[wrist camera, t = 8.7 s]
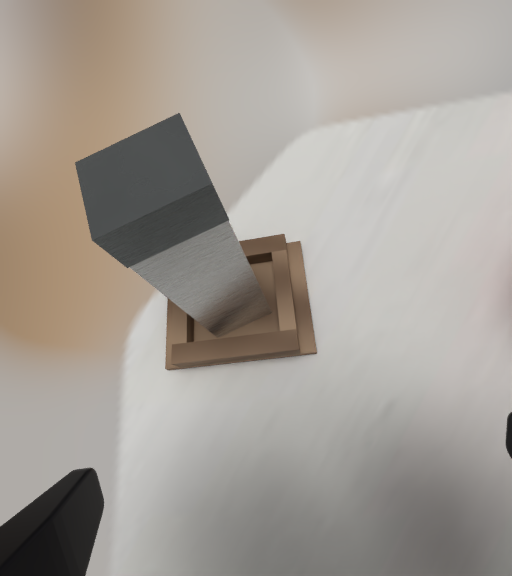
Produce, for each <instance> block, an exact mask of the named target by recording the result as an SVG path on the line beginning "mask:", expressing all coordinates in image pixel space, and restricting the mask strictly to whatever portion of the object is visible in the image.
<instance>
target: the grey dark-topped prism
mask: <svg viewBox="0 0 512 576" xmlns="http://www.w3.org/2000/svg"><path fill="white" fill-rule="evenodd" d="M75 165H76V169H77V174H78V178H79V183H80V187H81V192H82V196H83V201H84V206H85V210H86V215H87V220H88V224H89V229H90V233H91V238H92V241H94V242H95V243H96V244H97V245H99V246H100V247H101V248H103V249H104V250H105V251H107V252H108V253H109V254H110V255H112V256H113V257H114V258H115V259H117V260H118V261H119V262H120V263H122V264H123V265H124V266H126V267H127V268H129V267H130V268H131V269H132V270H134V271H135V272H136V273H137V274H139V275H140V276H141V277H142V278H144V279H145V280H146V281H147V282H149V283H150V284H151V285H152V286H154V287H155V288H156V289H157V290H159V291H160V292H161V293H162V294H164V295H165V296H166V297H167V298H169V299H170V300H171V301H172V302H174V303H175V304H176V305H177V306H179V307H180V308H181V309H182V310H184V311H185V312H186V313H187V314H189V315H190V316H191V317H192V318H194V319H195V320H196V321H197V322H199V323H200V324H201V325H202V326H204V327H205V328H206V329H207V330H209V331H210V332H211V333H212V334H214V335H215V336H216V337H217V338H219V337H221V336H223V335H225V334H228V333H230V332H232V331H234V330H236V329H238V328H240V327H243V326H245V325H247V324H249V323H251V322H253V321H256V320H258V319H260V318H262V317H264V316H266V315H268V314H271V313H272V311H271V309H270V307H269V305H268V303H267V301H266V298H265V296H264V294H263V292H262V290H261V288H260V286H259V283H258V281H257V279H256V277H255V275H254V273H253V270H252V268H251V266H250V264H249V262H248V260H247V258H246V256H245V254H244V251H243V249H242V247H241V245H240V243H239V241H238V239H237V237H236V235H235V232H234V230H233V228H232V226H231V224H230V222H229V218H228V216H227V214H226V212H225V210H224V208H223V205H222V203H221V201H220V199H219V197H218V195H217V192H216V190H215V188H214V186H213V184H212V182H211V179H210V177H209V175H208V173H207V171H206V169H205V167H204V164H203V162H202V160H201V158H200V156H199V154H198V151H197V149H196V147H195V145H194V143H193V141H192V139H191V137H190V135H189V132H188V130H187V128H186V126H185V124H184V122H183V119H182V117H181V115H180V113H178V114H176V115H174V116H172V117H170V118H168V119H166V120H163V121H161V122H159V123H157V124H155V125H153V126H151V127H149V128H147V129H145V130H142V131H140V132H138V133H136V134H134V135H132V136H130V137H128V138H126V139H124V140H122V141H119V142H117V143H115V144H113V145H111V146H109V147H107V148H105V149H103V150H101V151H98V152H97V153H94V154H92V155H90V156H88V157H86V158H84V159H82V160H80V161H78V162H76V164H75Z"/></svg>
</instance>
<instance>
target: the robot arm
mask: <svg viewBox="0 0 512 576" xmlns="http://www.w3.org/2000/svg"><path fill="white" fill-rule="evenodd" d="M506 448H507V451H508V453H509V455H510V457H511V458H512V412H511V413H510V414H509V415H508V418H507V431H506ZM103 508H104V498H103V494H102V491H101V487H100V483H99V480H98V476H97V473H96V471H95V470H94V469H93V468H84V469H77V470H73V471H71V472H70V473H69V474H68V475H66V476H65V477H64V478H62V479H61V480H60V481H58V482H57V483H56V484H55V485H53V486H52V487H51V488H49V489H48V490H47V491H46V492H44V493H43V494H42V495H41V496H39V497H38V498H37V499H35V500H34V501H33V502H32V503H30V504H29V505H28V506H26V507H25V508H24V509H22V510H21V511H20V512H19V513H17V514H16V515H15V516H14V517H12V518H11V519H10V520H8V521H7V522H6V523H4V524H3V525H2V526H1V527H0V576H85V575H86V571H87V567H88V564H89V560H90V557H91V553H92V549H93V546H94V542H95V539H96V535H97V531H98V528H99V524H100V521H101V517H102V513H103Z"/></svg>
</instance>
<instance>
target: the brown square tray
mask: <svg viewBox="0 0 512 576" xmlns="http://www.w3.org/2000/svg"><path fill="white" fill-rule="evenodd" d="M239 243H240V245H241V247H242V249H243V251H244V254H245V256H246V258H247V260H248V262H249V264H250V266H251V268H252V270H253V273H254V275H255V277H256V279H257V281H258V283H259V286H260V288H261V290H262V292H263V294H264V296H265V298H266V301H267V303H268V305H269V307H270V309H271V311H272V313H271V314H268V315H266V316H264V317H262V318H260V319H258V320H256V321H253V322H251V323H249V324H247V325H245V326H243V327H240V328H238V329H236V330H234V331H232V332H230V333H228V334H225V335H223V336H221V337H219V338H217V337H216V336H215V335H214V334H212V333H211V332H210V331H209V330H207V329H206V328H205V327H204V326H202V325H201V324H200V323H199V322H197V321H196V320H195V319H194V318H192V317H191V316H190V315H189V314H187V313H186V312H185V311H184V310H182V309H181V308H180V307H179V306H177V305H176V304H175V303H174V302H172V301H171V300H170V299H169V298H168V307H167V336H166V365H165V369H167V370H174V369H183V368H192V367H201V366H210V365H219V364H227V363H236V362H245V361H254V360H263V359H272V358H281V357H290V356H298V355H307V354H316V353H317V351H316V344H315V337H314V331H313V324H312V317H311V310H310V304H309V297H308V290H307V283H306V277H305V270H304V263H303V256H302V250H301V243H300V241H297V242H291V243H286V239H285V235H284V234H280V235H274V236H268V237H262V238H256V239H251V240H245V241H239Z"/></svg>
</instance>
